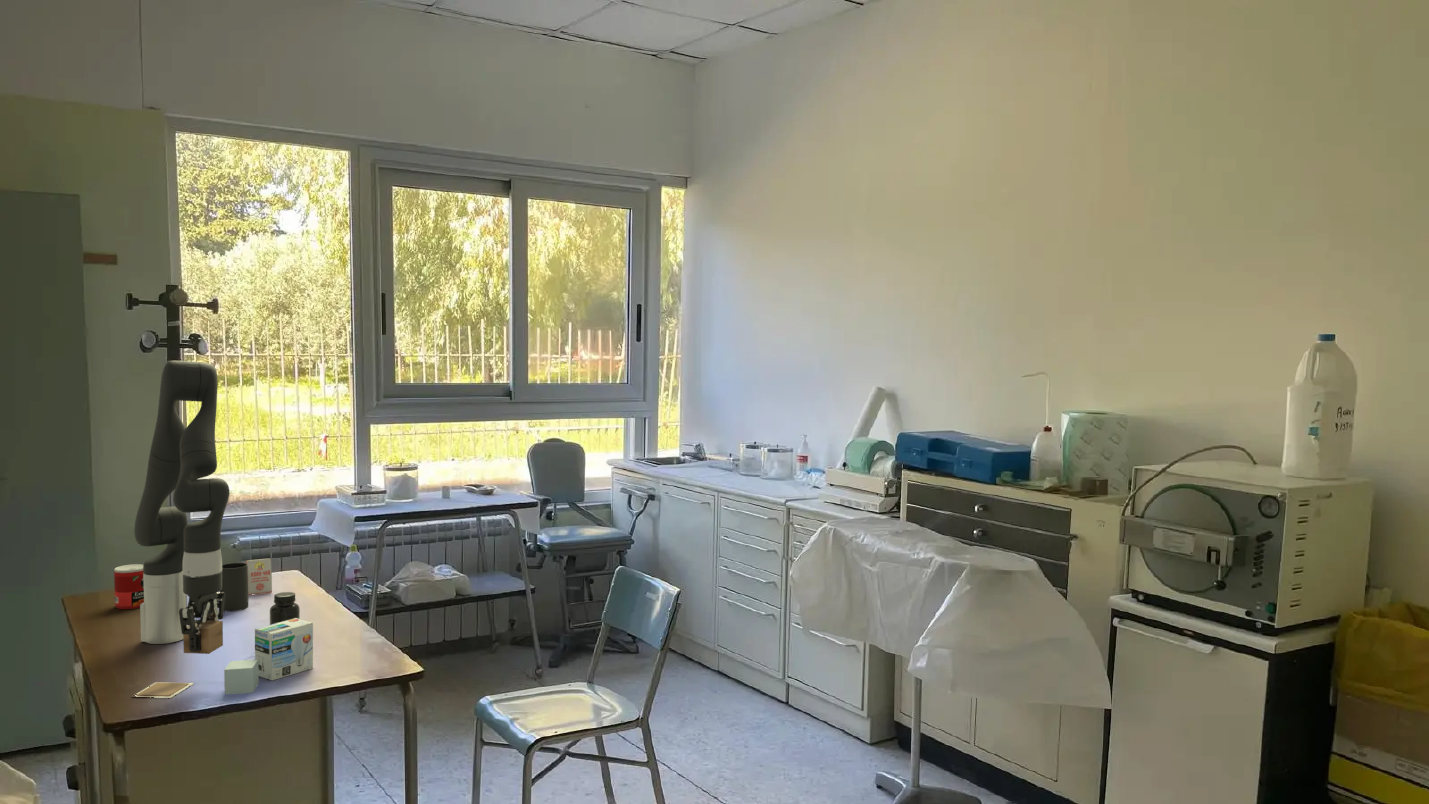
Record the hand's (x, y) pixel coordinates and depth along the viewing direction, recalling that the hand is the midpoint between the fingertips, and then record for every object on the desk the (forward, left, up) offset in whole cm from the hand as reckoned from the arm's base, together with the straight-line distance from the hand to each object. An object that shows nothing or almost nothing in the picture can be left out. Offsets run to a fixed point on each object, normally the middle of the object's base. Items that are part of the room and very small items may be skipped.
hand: (203, 646), depth 204 cm
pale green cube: (+9, -2, -9) cm, 13 cm away
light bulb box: (+13, +9, -9) cm, 18 cm away
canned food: (-54, +58, -9) cm, 79 cm away
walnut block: (0, 0, -1) cm, 1 cm away
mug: (-26, +57, -9) cm, 63 cm away
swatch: (-7, -4, -8) cm, 11 cm away
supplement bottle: (+3, +30, -9) cm, 31 cm away
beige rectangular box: (-26, +74, -9) cm, 79 cm away
